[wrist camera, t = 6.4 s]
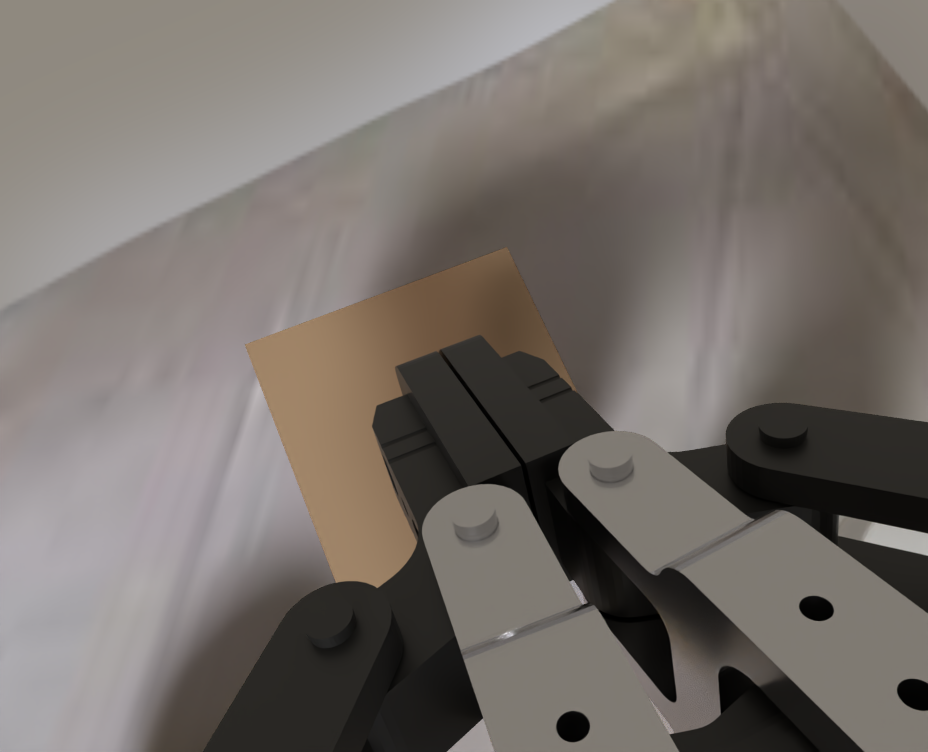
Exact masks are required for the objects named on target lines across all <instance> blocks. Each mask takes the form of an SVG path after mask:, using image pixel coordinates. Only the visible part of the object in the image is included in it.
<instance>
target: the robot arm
mask: <svg viewBox="0 0 928 752" xmlns="http://www.w3.org/2000/svg"><path fill="white" fill-rule="evenodd" d="M395 371H396V375H397V379H398V382H399V385H400V388H401V391H402V395H403V396H400V397H398V398H395V399H392V400H390V401H387V402H385V403H382V404H379V405H377V406H376V410H375V415H374V419H373V423H372V428H373V431H374V434H375V437H376V440H377V443H378V445H379V448H380V451H381V454H382V457H383V460H384V463H385V465H386V468H387V471H388V474H389V477H390V480H391V483H392V485H393V488H394V491H395V494H396V497H397V499H398V501H399V504H400V506H401V508H402V510H403V512H404V515H405V517H406V519H407V521H408V523H409V526H410V528H411V530H412V532H413V534H414V536H415V539H416V541H417V544H416V547H415V550H414V552H413V554H412V556H411V557H410V559H409V560H408V561H407V563H406V564H405V565H404V566H403V567H402V568H401V569H400V570H399V571H398V572H397V573H396V574H395V575H394V576H393V577H391V578H390V579H389V580H387V581H386V582H385V583H383V584H382V585H381V586H380V587H378V588H376V587H375V586H373V585H371V584H368V583H365V582H359V581H344V582H337V583H333V584H329V585H327V586H324V587H321V588H319V589H317V590H315V591H313V592H311V593H310V594H308V595H307V596H305V597H304V598H302V599H301V600H300V601H299V602H298V603H297V604H295V605H294V606H293V607H292V608H291V610H290V611H289V612H288V613H287V614H286V616H285V617H284V619H283V620H282V621H281V623H280V625H279V626H278V628H277V630H276V631H275V633H274V635H273V636H272V638H271V640H270V641H269V643H268V645H267V646H266V648H265V650H264V651H263V653H262V655H261V656H260V658H259V660H258V661H257V663H256V665H255V666H254V668H253V670H252V671H251V673H250V674H249V676H248V678H247V679H246V681H245V683H244V684H243V686H242V688H241V689H240V691H239V693H238V694H237V696H236V698H235V699H234V701H233V703H232V704H231V706H230V708H229V709H228V711H227V713H226V714H225V716H224V718H223V719H222V721H221V723H220V724H219V726H218V728H217V729H216V731H215V733H214V734H213V736H212V738H211V739H210V741H209V743H208V744H207V746H206V747H205V749H204V751H203V752H447V751H448V750H449V749H450V748H451V747H452V746H453V745H454V744H456V743H457V742H458V741H459V740H460V739H461V738H462V737H463V736H464V735H465V734H466V733H467V732H469V731H470V730H471V729H472V728H473V727H474V726H475V725H476V724H477V723H478V722H479V721H480V720H482V719H484V722H485V725H486V728H487V731H488V734H489V736H490V739H491V742H492V745H493V748H494V751H495V752H928V556H927V555H923V554H918V553H914V552H909V551H905V550H900V549H896V548H891V547H887V546H882V545H878V544H873V543H869V542H864V541H860V540H855V539H851V538H846V537H842V536H838V530H839V515H841V516H846V517H851V518H855V519H860V520H865V521H870V522H875V523H879V524H884V525H889V526H894V527H899V528H903V529H908V530H913V531H918V532H923V533H927V534H928V422H922V421H914V420H907V419H900V418H893V417H886V416H879V415H872V414H865V413H857V412H850V411H843V410H836V409H829V408H822V407H815V406H807V405H800V404H792V403H772V404H764V405H760V406H756V407H753V408H750V409H748V410H746V411H743V412H742V413H740V414H739V415H737V416H736V417H735V418H734V419H733V420H732V421H731V422H730V424H729V425H728V427H727V430H726V444H725V445H719V446H713V447H707V448H701V449H695V450H689V451H682V452H666V451H665V450H664V449H663V448H661V447H660V446H659V445H658V444H656V443H655V442H654V441H652V440H651V439H649V438H647V437H645V436H643V435H640V434H636V433H632V432H626V431H614V430H613V429H612V428H611V427H610V426H609V425H608V424H607V423H606V422H605V421H604V420H603V419H602V417H601V416H600V415H599V414H598V413H597V412H596V411H595V410H594V409H593V408H592V407H591V406H590V405H589V404H588V403H587V402H586V401H585V400H584V399H583V398H582V397H581V396H580V395H579V394H578V393H577V392H576V391H575V390H574V391H573V390H572V388H571V386H570V385H569V384H568V383H567V382H566V381H565V380H564V379H563V378H560V376H559V374H558V373H557V372H556V371H555V370H554V369H553V368H552V367H551V366H550V365H549V364H548V363H547V362H546V361H545V360H544V359H541V358H538V357H536V356H533V355H530V354H527V353H525V352H522V351H517V352H515V353H512V354H510V355H507V356H504V357H502V358H501V357H500V356H499V354H498V353H497V352H496V351H495V350H494V349H493V348H492V347H491V345H490V344H489V343H488V342H487V341H486V340H485V339H484V337H482V336H481V335H477V336H475V337H472V338H469V339H466V340H464V341H461V342H458V343H456V344H453V345H450V346H448V347H445V348H442V349H440V350H439V353H438V352H437V351H435V352H432V353H430V354H427V355H424V356H422V357H419V358H416V359H414V360H411V361H408V362H405V363H403V364H400V365H397V366H395ZM572 580H574V581H575V583H576V584H577V586H578V587H579V588H580V590H581V591H582V593H583V598H584V603H585V604H584V605H583V604H582V603H581V602H580V600H579V598H578V596H577V595H576V593H575V591H574V589H573V587H572V585H571V584H570V582H569V581H572ZM648 697H649V698H650V700H651V701H652V702H653V703H654V705H655V706H656V707H657V708H658V710H659V711H660V712H661V714H662V715H663V716H664V717H665V719H666V720H667V721H668V723H669V724H670V726H671V728H672V729H673V731H674V734H669V733H668V731H667V729H666V728H665V726H664V724H663V722H662V721H661V719H660V717H659V715H658V714H657V712H656V710H655V708H654V707H653V705H652V703H651V701H650V700H649V698H648Z"/></svg>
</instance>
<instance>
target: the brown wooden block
mask: <svg viewBox="0 0 928 752" xmlns="http://www.w3.org/2000/svg"><path fill="white" fill-rule="evenodd" d="M477 335H481V336H482V337H484V339H485V340H486V341H487V342H488V343H489V344H490V345H491V347H492V348H493V349H494V350H495V351H496V352H497V353H498V354H499V356H500V357H501V358H502V357H504V356H507V355H510V354H512V353H515V352H517V351H522V352H525V353H527V354H530V355H533V356H536V357H538V358H541V359H544V360H545V361H546V362H547V363H548V364H549V365H550V366H551V367H552V368H553V369H554V370H555V371H556V372H557V373H558V374H559V376H560V378H563V379H564V380H565V381H566V382H567V383H568V384H569V385H570V386H571V388H572V390H573V391H574V390H575V391H576V389H575V387H574V385H573V382H572V380H571V378H570V376H569V374H568V372H567V370H566V368H565V366H564V364H563V362H562V360H561V358H560V356H559V354H558V351H557V349H556V347H555V345H554V343H553V341H552V339H551V337H550V335H549V333H548V331H547V329H546V327H545V325H544V323H543V320H542V318H541V316H540V314H539V312H538V310H537V308H536V306H535V304H534V302H533V300H532V298H531V296H530V294H529V292H528V289H527V287H526V285H525V283H524V281H523V279H522V277H521V275H520V273H519V271H518V269H517V267H516V265H515V263H514V261H513V258H512V256H511V254H510V252H509V250H508V248H507V247H506V248H503V249H500V250H498V251H495V252H492V253H490V254H487V255H484V256H482V257H479V258H476V259H474V260H471V261H468V262H465V263H463V264H460V265H457V266H455V267H452V268H449V269H447V270H444V271H441V272H439V273H436V274H433V275H431V276H428V277H425V278H423V279H420V280H417V281H414V282H412V283H409V284H406V285H404V286H401V287H398V288H396V289H393V290H390V291H388V292H385V293H382V294H380V295H377V296H374V297H371V298H369V299H366V300H363V301H361V302H358V303H355V304H353V305H350V306H347V307H345V308H342V309H339V310H337V311H334V312H331V313H328V314H326V315H323V316H320V317H318V318H315V319H312V320H310V321H307V322H304V323H302V324H299V325H296V326H294V327H291V328H288V329H286V330H283V331H280V332H277V333H275V334H272V335H269V336H267V337H264V338H261V339H259V340H256V341H253V342H251V343H248V344H245V346H246V349H247V352H248V354H249V357H250V360H251V362H252V365H253V367H254V370H255V373H256V375H257V378H258V380H259V383H260V386H261V388H262V391H263V393H264V396H265V399H266V401H267V404H268V407H269V409H270V412H271V414H272V417H273V420H274V422H275V425H276V427H277V430H278V433H279V435H280V438H281V441H282V443H283V446H284V448H285V451H286V454H287V456H288V459H289V461H290V464H291V467H292V469H293V472H294V474H295V477H296V480H297V482H298V485H299V488H300V490H301V493H302V495H303V498H304V501H305V503H306V506H307V508H308V511H309V514H310V516H311V519H312V522H313V524H314V527H315V529H316V532H317V535H318V537H319V540H320V542H321V545H322V548H323V550H324V553H325V555H326V558H327V561H328V563H329V566H330V569H331V571H332V574H333V576H334V579H335V582H336V583H337V582H344V581H359V582H365V583H368V584H371V585H373V586H375V587H376V588H378V587H380V586H381V585H382V584H383V583H385V582H386V581H387V580H389V579H390V578H391V577H393V576H394V575H395V574H396V573H397V572H398V571H399V570H400V569H401V568H402V567H403V566H404V565H405V564H406V563H407V561H408V560H409V559H410V557H411V556H412V554H413V552H414V550H415V547H416V544H417V541H416V539H415V536H414V534H413V532H412V530H411V528H410V526H409V523H408V521H407V519H406V517H405V515H404V512H403V510H402V508H401V506H400V504H399V501H398V499H397V497H396V494H395V491H394V488H393V485H392V483H391V480H390V477H389V474H388V471H387V468H386V465H385V463H384V460H383V457H382V454H381V451H380V448H379V445H378V443H377V440H376V437H375V434H374V431H373V428H372V423H373V419H374V415H375V410H376V406H377V405H379V404H382V403H385V402H387V401H390V400H392V399H395V398H398V397H400V396H403V395H402V391H401V388H400V385H399V382H398V379H397V375H396V371H395V366H397V365H400V364H403V363H405V362H408V361H411V360H414V359H416V358H419V357H422V356H424V355H427V354H430V353H432V352H435V351H437V352H438V353H439V350H440V349H442V348H445V347H448V346H450V345H453V344H456V343H458V342H461V341H464V340H466V339H469V338H472V337H475V336H477ZM576 392H577V391H576Z"/></svg>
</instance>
